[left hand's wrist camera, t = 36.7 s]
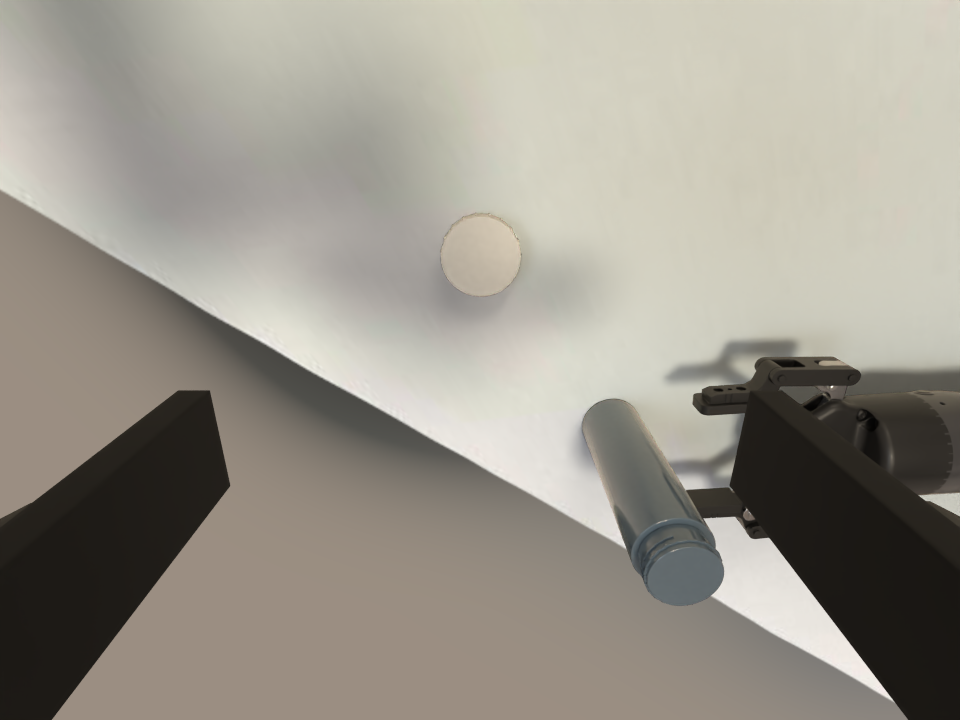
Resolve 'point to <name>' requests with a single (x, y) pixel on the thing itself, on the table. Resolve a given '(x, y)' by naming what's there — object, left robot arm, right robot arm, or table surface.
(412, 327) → the table surface
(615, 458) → the bottle
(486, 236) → the lid
